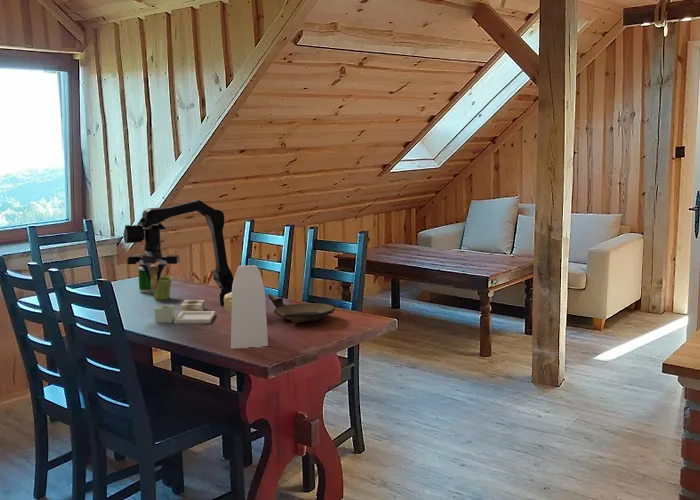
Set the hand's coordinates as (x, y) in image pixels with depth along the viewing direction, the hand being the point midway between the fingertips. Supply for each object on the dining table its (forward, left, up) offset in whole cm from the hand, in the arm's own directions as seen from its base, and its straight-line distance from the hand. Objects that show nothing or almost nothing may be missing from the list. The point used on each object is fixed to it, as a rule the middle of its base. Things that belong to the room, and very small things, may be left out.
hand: (154, 281), depth 267 cm
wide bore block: (-14, -4, -13) cm, 19 cm away
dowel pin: (0, 0, -3) cm, 3 cm away
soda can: (+12, -41, -13) cm, 45 cm away
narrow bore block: (-6, +10, -13) cm, 17 cm away
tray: (-17, +9, -13) cm, 23 cm away
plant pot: (+3, -27, -13) cm, 30 cm away
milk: (-40, +41, -13) cm, 59 cm away
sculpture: (-34, +7, -13) cm, 37 cm away
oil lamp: (-57, +10, -13) cm, 59 cm away
